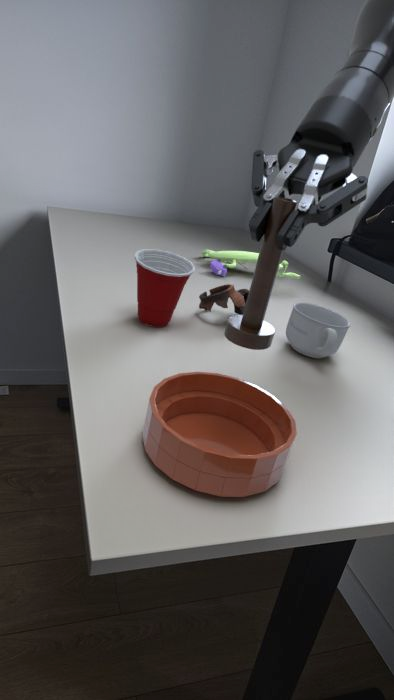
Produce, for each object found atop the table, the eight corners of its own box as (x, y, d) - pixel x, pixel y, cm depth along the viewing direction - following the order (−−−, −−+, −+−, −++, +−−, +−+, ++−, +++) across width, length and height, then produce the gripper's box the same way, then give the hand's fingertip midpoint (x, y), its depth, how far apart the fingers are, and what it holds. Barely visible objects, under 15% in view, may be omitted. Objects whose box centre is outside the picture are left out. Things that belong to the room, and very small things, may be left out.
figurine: (296, 296, 123) (302, 275, 121) (192, 270, 124) (197, 249, 122) (294, 276, 140) (300, 257, 137) (203, 254, 141) (207, 234, 139)
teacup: (280, 333, 99) (292, 296, 95) (333, 346, 98) (347, 309, 95) (282, 363, 86) (295, 322, 83) (342, 378, 86) (358, 337, 82)
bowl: (232, 403, 71) (242, 367, 68) (310, 484, 58) (326, 443, 55) (120, 419, 62) (127, 378, 59) (184, 518, 49) (196, 471, 46)
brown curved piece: (231, 337, 93) (218, 296, 90) (197, 337, 100) (184, 299, 97) (268, 313, 100) (257, 274, 98) (235, 315, 107) (224, 279, 105)
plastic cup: (140, 336, 84) (152, 269, 79) (115, 310, 92) (124, 247, 87) (193, 332, 90) (207, 270, 85) (165, 308, 98) (177, 250, 93)
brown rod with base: (253, 327, 61) (289, 195, 54) (280, 348, 57) (323, 208, 50) (215, 329, 58) (248, 189, 51) (241, 351, 54) (281, 203, 47)
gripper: (282, 82, 55) (202, 197, 50) (408, 105, 49) (330, 237, 44) (287, 137, 61) (216, 243, 57) (398, 163, 55) (330, 283, 51)
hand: (267, 239), depth 50 cm, fingers closed on brown rod with base, 2 cm apart
